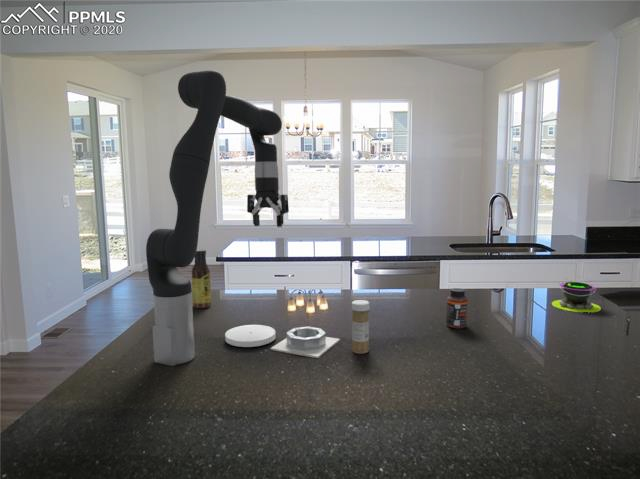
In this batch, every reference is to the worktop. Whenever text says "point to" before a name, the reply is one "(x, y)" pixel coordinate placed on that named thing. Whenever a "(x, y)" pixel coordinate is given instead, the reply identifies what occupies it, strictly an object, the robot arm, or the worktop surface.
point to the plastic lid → (250, 335)
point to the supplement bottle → (456, 309)
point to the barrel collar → (306, 338)
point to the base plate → (313, 353)
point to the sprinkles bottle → (360, 326)
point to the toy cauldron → (576, 297)
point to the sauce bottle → (201, 281)
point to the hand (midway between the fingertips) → (268, 226)
